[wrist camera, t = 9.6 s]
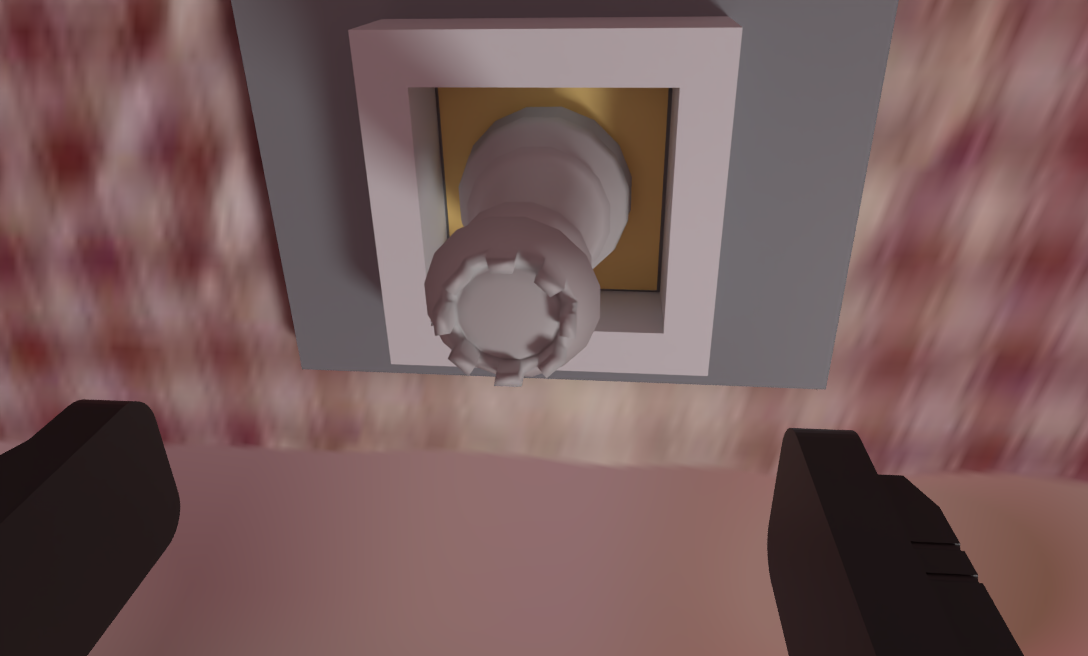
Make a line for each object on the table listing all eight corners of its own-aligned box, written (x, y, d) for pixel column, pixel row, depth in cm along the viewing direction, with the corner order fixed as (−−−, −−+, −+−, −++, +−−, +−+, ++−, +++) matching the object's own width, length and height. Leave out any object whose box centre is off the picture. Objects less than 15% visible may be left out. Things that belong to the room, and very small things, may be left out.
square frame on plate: (316, 350, 25) (268, 413, 21) (242, -61, 19) (161, -61, 16) (816, 368, 23) (847, 439, 20) (894, -73, 17) (956, -75, 14)
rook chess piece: (476, 85, 19) (385, 173, 12) (650, 119, 19) (663, 229, 12) (457, 248, 21) (369, 405, 14) (613, 278, 21) (604, 453, 14)
